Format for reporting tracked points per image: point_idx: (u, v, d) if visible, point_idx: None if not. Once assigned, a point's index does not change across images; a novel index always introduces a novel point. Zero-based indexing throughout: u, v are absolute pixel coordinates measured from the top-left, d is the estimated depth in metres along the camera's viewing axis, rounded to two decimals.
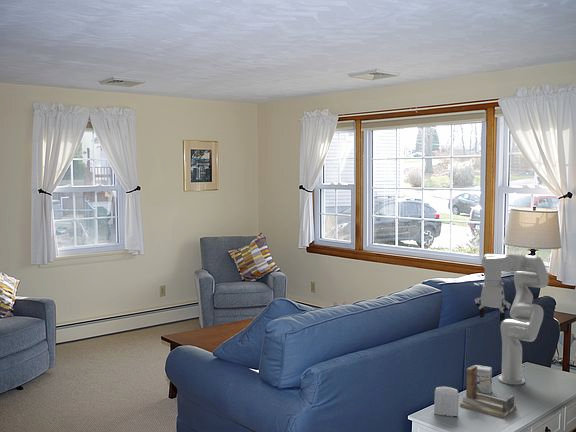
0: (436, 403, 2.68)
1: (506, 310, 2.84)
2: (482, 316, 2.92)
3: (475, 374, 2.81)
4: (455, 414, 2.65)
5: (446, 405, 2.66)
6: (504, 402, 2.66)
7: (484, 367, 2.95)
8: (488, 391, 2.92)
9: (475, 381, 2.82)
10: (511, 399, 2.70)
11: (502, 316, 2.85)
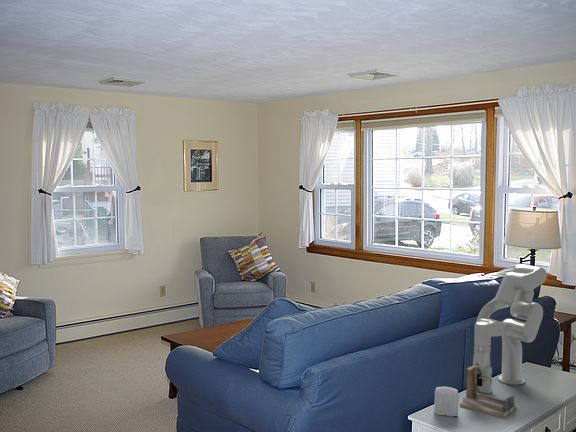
0: (436, 403, 2.68)
1: None
2: None
3: (475, 374, 2.81)
4: (455, 414, 2.65)
5: (446, 405, 2.66)
6: (504, 402, 2.66)
7: None
8: (488, 391, 2.92)
9: (475, 381, 2.82)
10: (511, 399, 2.70)
11: None
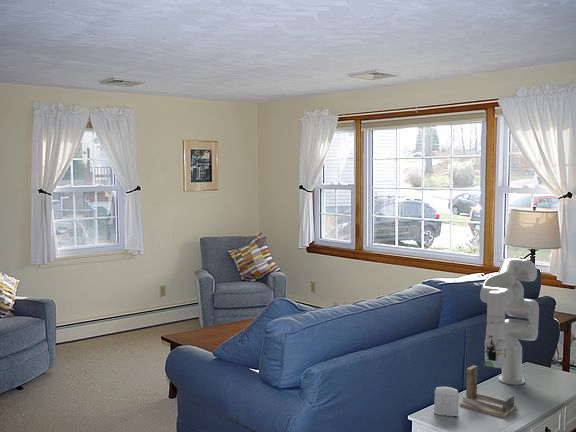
0: (436, 403, 2.68)
1: None
2: None
3: (475, 374, 2.81)
4: (455, 414, 2.65)
5: (446, 405, 2.66)
6: (504, 402, 2.66)
7: None
8: (502, 366, 2.69)
9: (475, 381, 2.82)
10: (511, 399, 2.70)
11: None
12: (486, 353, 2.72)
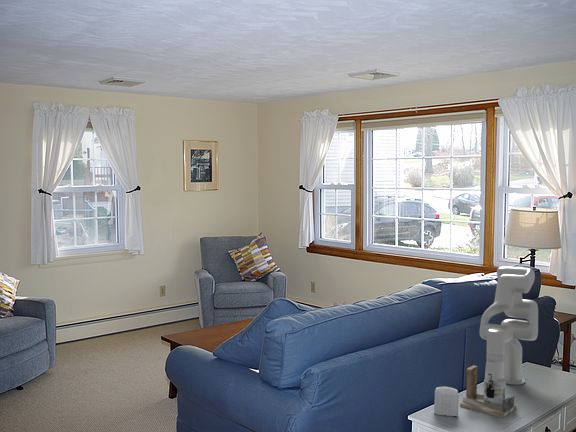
0: (436, 403, 2.68)
1: None
2: None
3: (475, 374, 2.81)
4: (455, 414, 2.65)
5: (446, 405, 2.66)
6: (504, 402, 2.66)
7: None
8: None
9: (475, 381, 2.82)
10: (511, 399, 2.70)
11: None
12: (485, 393, 2.73)
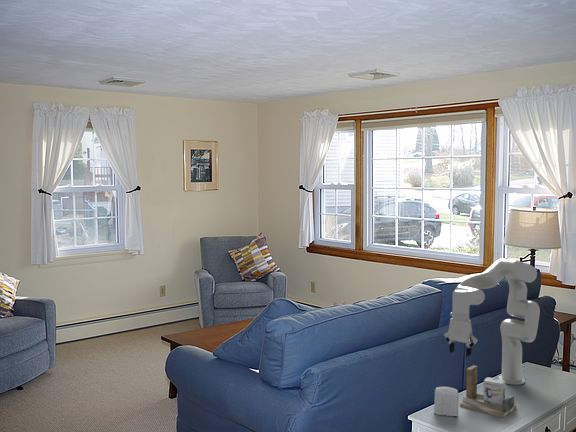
0: (436, 403, 2.68)
1: None
2: None
3: (475, 374, 2.81)
4: (455, 414, 2.65)
5: (446, 405, 2.66)
6: (504, 402, 2.66)
7: (497, 380, 2.73)
8: None
9: (475, 381, 2.82)
10: (511, 399, 2.70)
11: None
12: (485, 393, 2.73)
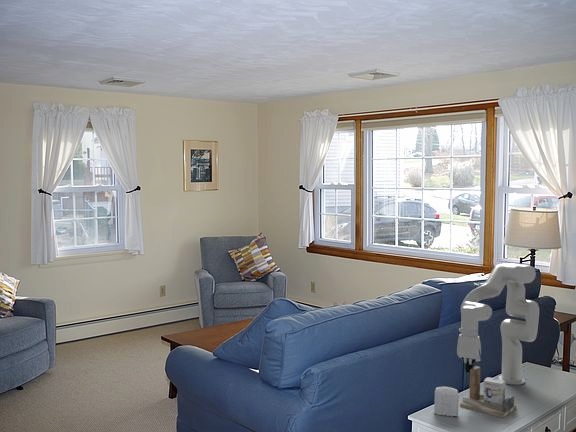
0: (436, 403, 2.68)
1: None
2: None
3: (478, 375, 2.80)
4: (455, 414, 2.65)
5: (446, 405, 2.66)
6: (504, 402, 2.66)
7: (497, 380, 2.73)
8: None
9: (478, 382, 2.80)
10: (511, 399, 2.70)
11: None
12: (485, 393, 2.73)
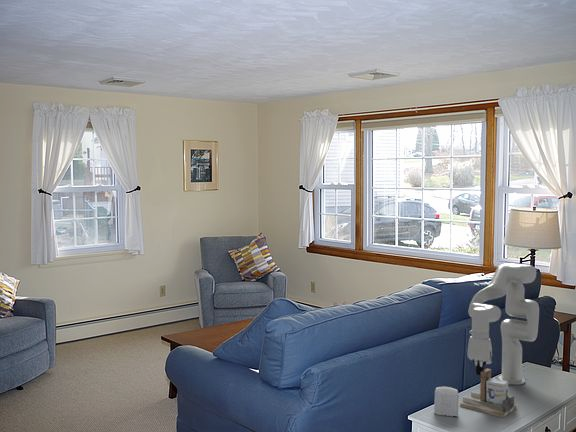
0: (436, 403, 2.68)
1: None
2: None
3: (489, 377, 2.76)
4: (455, 414, 2.65)
5: (446, 405, 2.66)
6: (504, 402, 2.66)
7: (499, 381, 2.72)
8: None
9: None
10: (511, 399, 2.70)
11: None
12: (488, 393, 2.73)
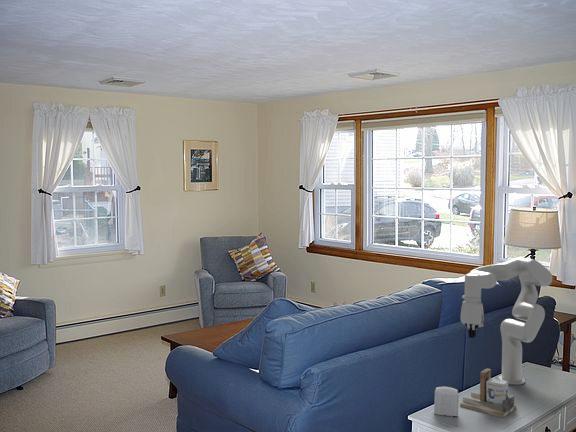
0: (436, 403, 2.68)
1: (467, 325, 2.94)
2: None
3: (489, 377, 2.77)
4: (455, 414, 2.65)
5: (446, 405, 2.66)
6: (504, 402, 2.66)
7: (499, 381, 2.72)
8: None
9: None
10: (511, 399, 2.70)
11: None
12: (488, 393, 2.73)
